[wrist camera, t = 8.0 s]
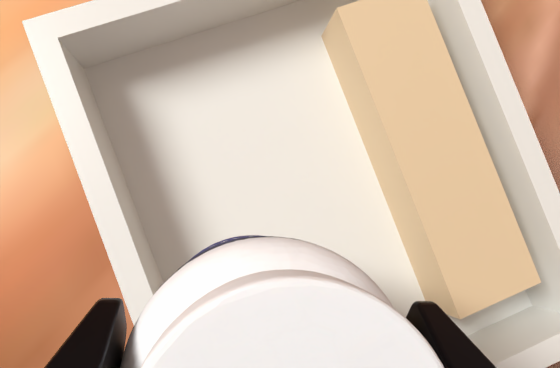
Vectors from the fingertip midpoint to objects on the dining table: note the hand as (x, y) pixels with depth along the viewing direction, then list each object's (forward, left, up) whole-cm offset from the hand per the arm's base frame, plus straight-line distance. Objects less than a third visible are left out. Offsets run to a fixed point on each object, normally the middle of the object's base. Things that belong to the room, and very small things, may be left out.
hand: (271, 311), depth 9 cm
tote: (+4, +2, -13) cm, 14 cm away
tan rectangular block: (+9, +2, -12) cm, 16 cm away
